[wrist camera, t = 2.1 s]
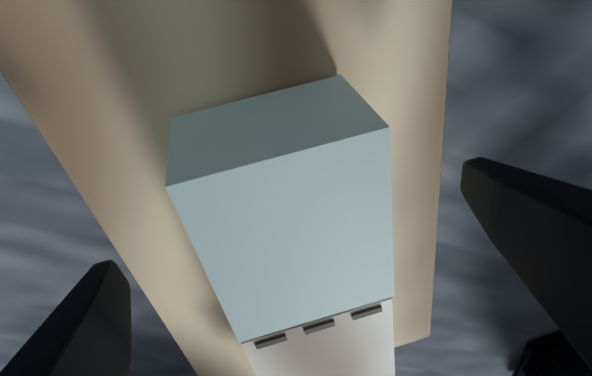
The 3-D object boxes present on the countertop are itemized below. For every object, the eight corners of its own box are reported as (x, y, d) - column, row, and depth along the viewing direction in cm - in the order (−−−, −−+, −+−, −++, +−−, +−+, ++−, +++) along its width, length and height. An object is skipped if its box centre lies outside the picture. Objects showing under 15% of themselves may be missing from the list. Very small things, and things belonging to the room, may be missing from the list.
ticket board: (453, -242, 9) (674, -374, 5) (424, 327, 22) (476, 417, 18) (-112, -131, 8) (-430, -179, 4) (215, 391, 21) (220, 502, 17)
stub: (340, 74, 11) (389, 126, 8) (356, 224, 15) (394, 296, 12) (172, 117, 11) (164, 186, 8) (229, 260, 14) (238, 342, 12)
